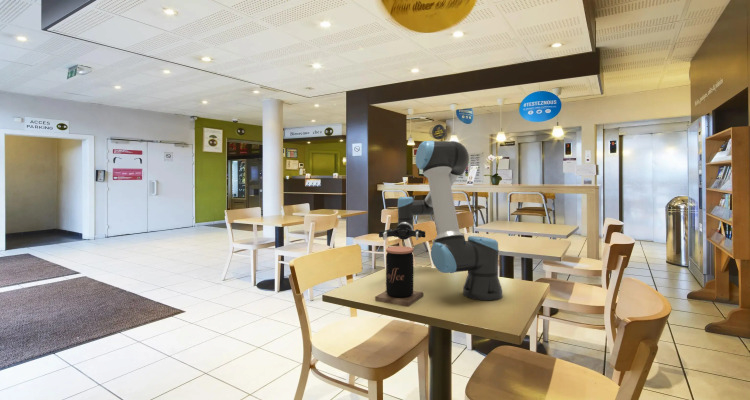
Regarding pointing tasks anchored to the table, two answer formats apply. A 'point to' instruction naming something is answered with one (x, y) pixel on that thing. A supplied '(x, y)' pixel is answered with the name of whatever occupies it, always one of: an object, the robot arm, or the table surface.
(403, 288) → the coffee jar
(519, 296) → the table surface
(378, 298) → the walnut board
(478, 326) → the table surface
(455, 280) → the table surface
